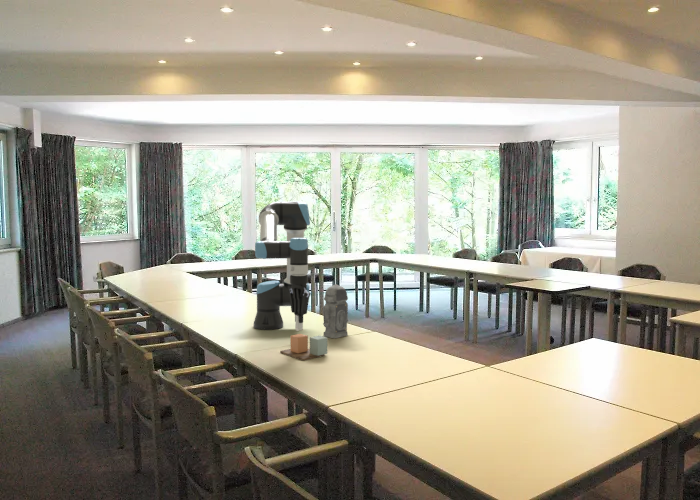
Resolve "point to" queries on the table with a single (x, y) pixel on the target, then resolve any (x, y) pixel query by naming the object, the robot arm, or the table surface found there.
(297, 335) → the orange block
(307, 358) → the stand
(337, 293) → the figurine
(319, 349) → the pale blue-grey block
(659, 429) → the table surface
